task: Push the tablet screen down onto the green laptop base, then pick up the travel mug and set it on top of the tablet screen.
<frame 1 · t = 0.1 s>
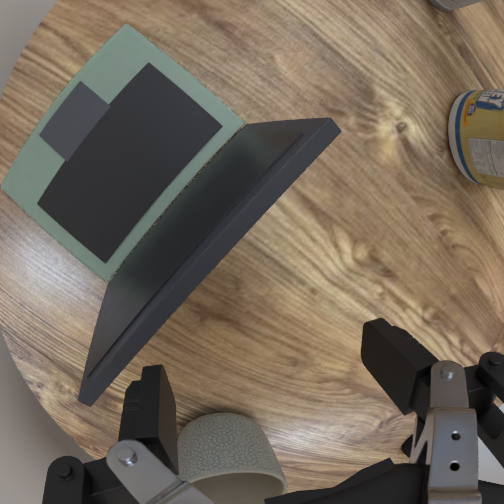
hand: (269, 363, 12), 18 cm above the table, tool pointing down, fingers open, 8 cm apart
computer mouse: (420, 438, 49), on the table
green laptop base: (112, 150, 24), on the table
tablet screen: (176, 234, 19), point 9 cm above the table, hinge at 95.0°
supplement tub: (472, 136, 31), on the table
planter: (218, 429, 36), on the table
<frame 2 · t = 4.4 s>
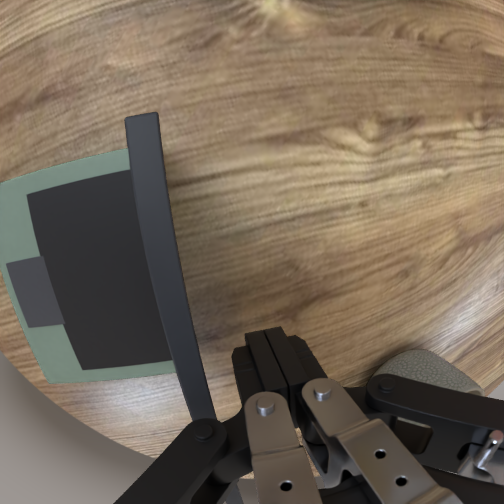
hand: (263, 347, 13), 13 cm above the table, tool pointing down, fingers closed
green laptop base: (84, 277, 23), on the table
tablet screen: (180, 318, 16), point 9 cm above the table, hinge at 94.8°, touching gripper
planter: (391, 376, 34), on the table
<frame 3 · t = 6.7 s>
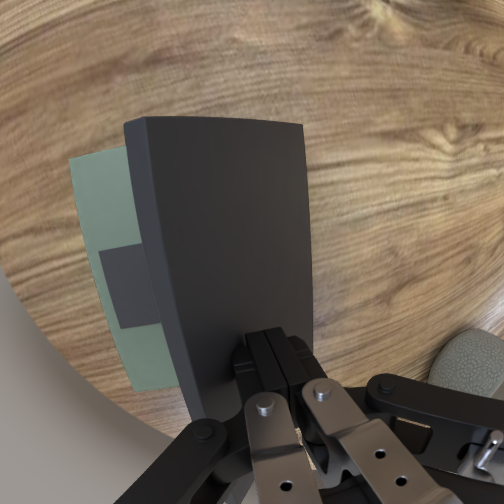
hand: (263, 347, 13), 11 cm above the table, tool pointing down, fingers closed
green laptop base: (196, 267, 22), on the table
tablet screen: (268, 308, 16), point 8 cm above the table, hinge at 52.2°, touching gripper
planter: (448, 357, 34), on the table
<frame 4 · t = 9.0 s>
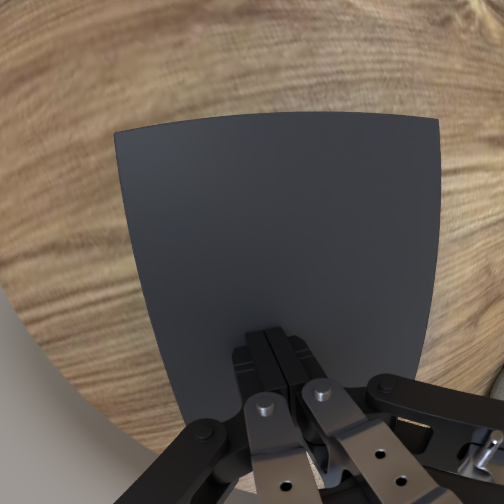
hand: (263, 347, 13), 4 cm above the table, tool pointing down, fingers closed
tablet screen: (321, 325, 14), point 3 cm above the table, hinge at 4.8°, touching gripper, green laptop base
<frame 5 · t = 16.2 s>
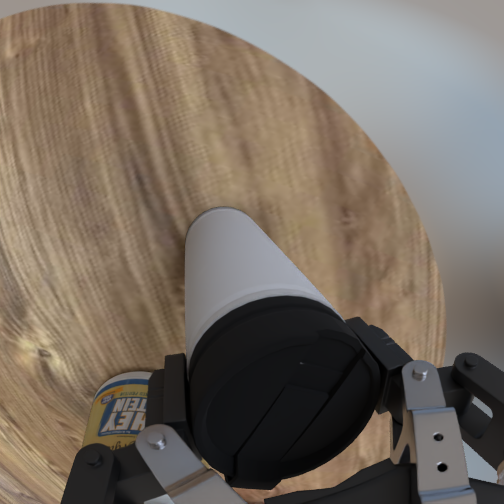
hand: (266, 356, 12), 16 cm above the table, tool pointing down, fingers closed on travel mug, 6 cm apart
travel mug: (221, 244, 27), on the table, touching gripper
supplement tub: (147, 406, 31), on the table
when the fingers open (19 cm above the table, at t = 25.1 s): travel mug stays where it is, resting on tablet screen.
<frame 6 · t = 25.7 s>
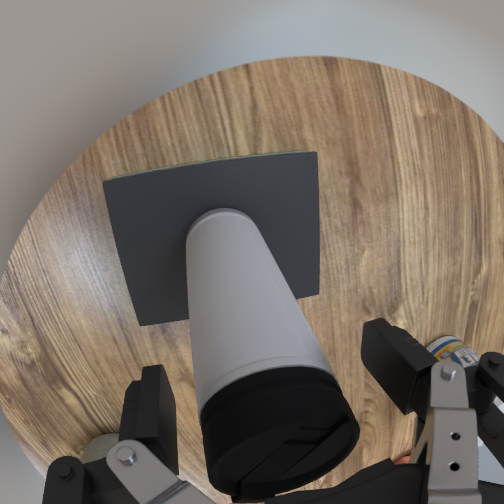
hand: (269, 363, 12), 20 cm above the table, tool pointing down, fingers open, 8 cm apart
green laptop base: (217, 233, 30), on the table
tablet screen: (220, 242, 28), point 3 cm above the table, hinge at 5.0°, touching green laptop base, travel mug
travel mug: (221, 242, 27), point 3 cm above the table, touching tablet screen
supplement tub: (431, 363, 44), on the table
planter: (123, 446, 37), on the table
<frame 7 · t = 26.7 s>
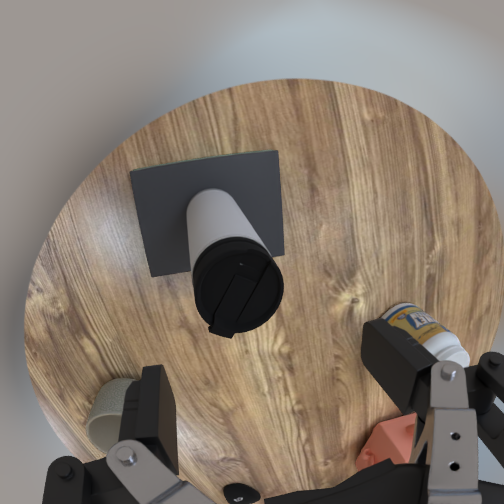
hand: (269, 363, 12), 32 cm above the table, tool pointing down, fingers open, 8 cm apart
computer mouse: (240, 490, 64), on the table
tablet screen: (211, 214, 39), point 3 cm above the table, hinge at 5.0°, touching green laptop base, travel mug
travel mug: (211, 213, 39), point 3 cm above the table, touching tablet screen
teapot: (389, 425, 67), on the table
supplement tub: (394, 328, 55), on the table
planter: (130, 393, 48), on the table
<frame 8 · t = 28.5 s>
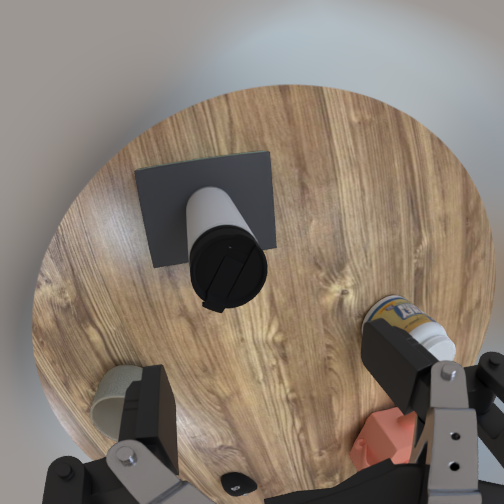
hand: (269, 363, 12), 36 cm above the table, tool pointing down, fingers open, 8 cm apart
computer mouse: (237, 480, 68), on the table
tablet screen: (208, 210, 43), point 3 cm above the table, hinge at 5.0°, touching green laptop base, travel mug
travel mug: (208, 209, 42), point 3 cm above the table, touching tablet screen
teapot: (382, 416, 70), on the table
supplement tub: (383, 320, 59), on the table
planter: (132, 380, 52), on the table
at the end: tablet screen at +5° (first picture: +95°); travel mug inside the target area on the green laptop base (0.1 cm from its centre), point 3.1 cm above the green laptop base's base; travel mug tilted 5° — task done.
